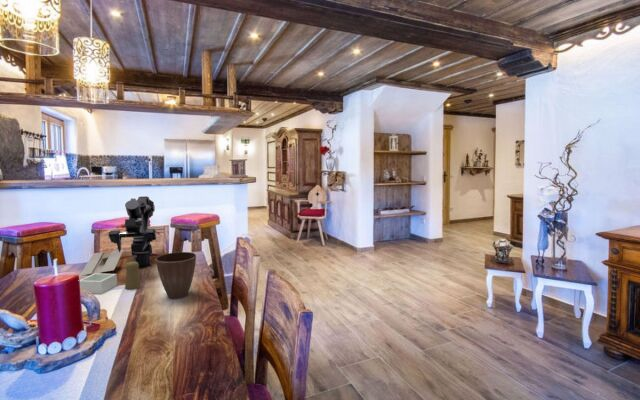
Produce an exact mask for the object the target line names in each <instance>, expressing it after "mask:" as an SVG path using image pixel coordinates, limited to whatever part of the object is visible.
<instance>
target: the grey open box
mask: <svg viewBox="0 0 640 400" xmlns="http://www.w3.org/2000/svg"><path fill="white" fill-rule="evenodd" d="M117 275H118V274H117V273H101V274H98V273H94V274H89V275H88V276H85V277H82V278H81V279H79V280H80V287H81V290H86V291H89V292H91V293H90V294H98V295H99V294H101V295H103V294H104V293H106V292H108V291H109V290H111V289H113V288H115V287H116V286H118V278H117V277H118V276H117Z"/></svg>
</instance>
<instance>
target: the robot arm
mask: <svg viewBox="0 0 640 400" xmlns="http://www.w3.org/2000/svg"><path fill="white" fill-rule="evenodd" d="M124 206H125V210H126V213H127V216H128V218H127V219H126V218H125V219H124V227H125V229H124V230H125V232H120V229H119V230H118V229H117V230H110V231H109V232H108V237H109V240H110V242H111V243H113V244H116V245H117V250H119V252H120V251H121V249H122V238H133V239H132V243H131V244H130V251H131V256H134V257H133V261H134V262H138V264H139V268H138V269H140V268H146V267H150V266H152V264H151V260H150V255H151V254H153V246H152V244H151V242H153V241H157V233H156V229H155V228H149V223H150V219H151V218H152V217H153V216H154V212H155V210H156V209H155V203H154V201H153V200H151V199H150V197H149V196H148V195H147V196H138V198H137V199H136V198H130V200H128V201H126V203H125V204H124Z"/></svg>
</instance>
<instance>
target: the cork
mask: <svg viewBox="0 0 640 400" xmlns="http://www.w3.org/2000/svg"><path fill="white" fill-rule="evenodd" d="M124 269H125V271H126V273H125V284H124V289H125V290H126V291H127V290H128V291H129V290H130V291H131V290H137V289H140V288H141V287H142V286H141V285H142V284H141V280H140V275H139V271H138V269H140V268H139V264H138V262H134V260H133V261H128V262H126V263H125V264H124Z"/></svg>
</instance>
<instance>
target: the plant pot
mask: <svg viewBox="0 0 640 400" xmlns="http://www.w3.org/2000/svg"><path fill="white" fill-rule="evenodd" d="M196 260H197V254H196V253H194V252H188V251H178V252H177V251H175V252H170V253H164V254H160V255H159V256H157V257H156V258H155V264H156V268H157V273H158V276H159V278H160V281H161V284H162V287H163V290H164V292H165V293H166V295H167V297H168V298H169V299H172V300H176V299H177V300H179V299H182V298H185V297H187V296H188V295H189V292H190V291H191V290H190V289H191V286H192V283H193V278H194V275H195V271H196V270H195V269H196V263H197V261H196Z"/></svg>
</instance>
